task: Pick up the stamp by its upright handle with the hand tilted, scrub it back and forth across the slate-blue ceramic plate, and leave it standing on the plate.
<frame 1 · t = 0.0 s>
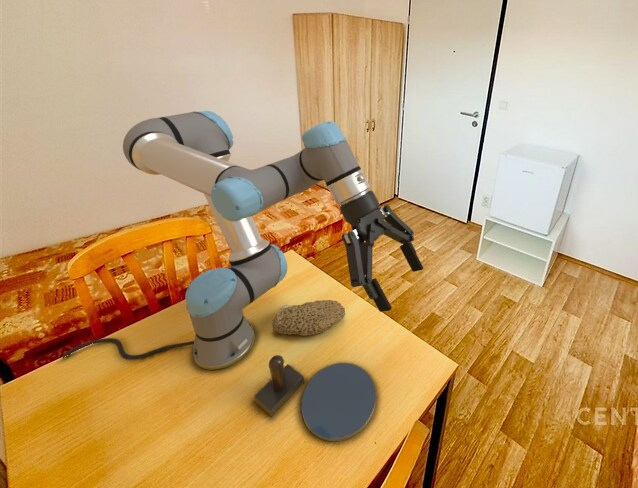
hand: (403, 288, 65), 36 cm above the table, tool tilted 35°, fingers open, 13 cm apart
stamp: (280, 391, 79), on the table
plate: (339, 399, 79), on the table
sponge: (311, 324, 99), on the table
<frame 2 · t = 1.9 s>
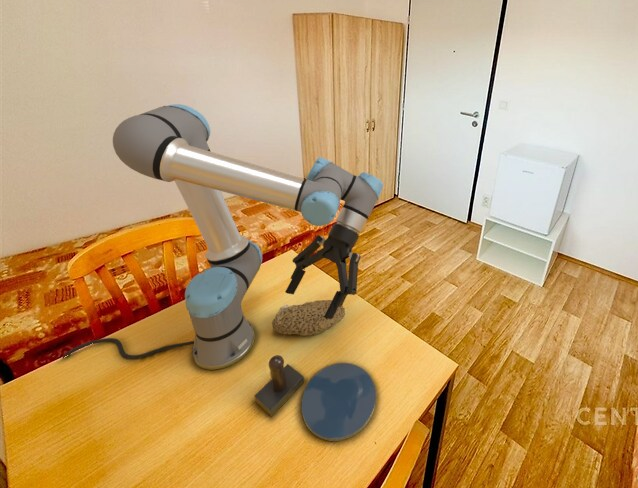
hand: (307, 305, 79), 21 cm above the table, tool tilted 45°, fingers open, 13 cm apart
nothing on the table moved.
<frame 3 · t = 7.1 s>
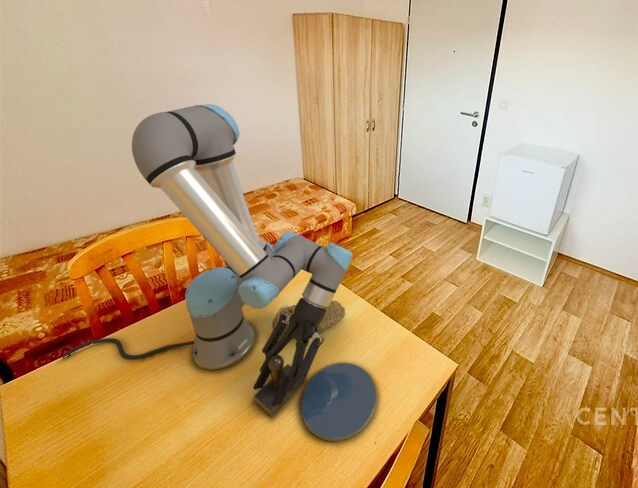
hand: (266, 395, 75), 3 cm above the table, tool tilted 45°, fingers closed on stamp, 6 cm apart
stamp: (280, 391, 79), on the table, touching gripper
everything else where it was.
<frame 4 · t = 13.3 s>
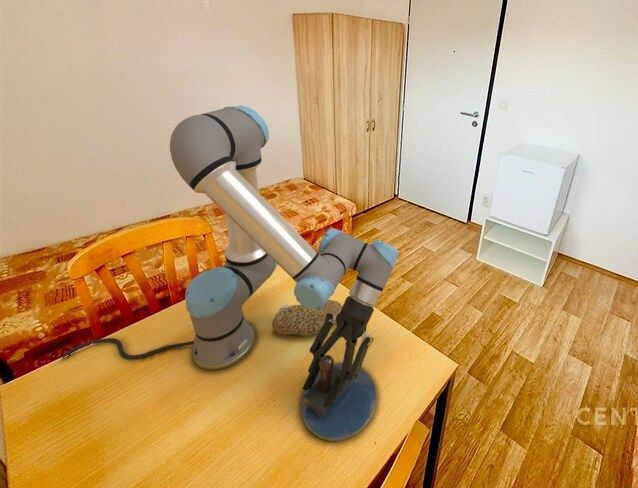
hand: (316, 396, 73), 6 cm above the table, tool tilted 45°, fingers closed on stamp, 6 cm apart
stamp: (328, 392, 78), point 3 cm above the table, touching gripper
everything else where it was.
when the fingers open (4 cm above the table, at t = 19.8 s): stamp stays where it is, resting on plate.
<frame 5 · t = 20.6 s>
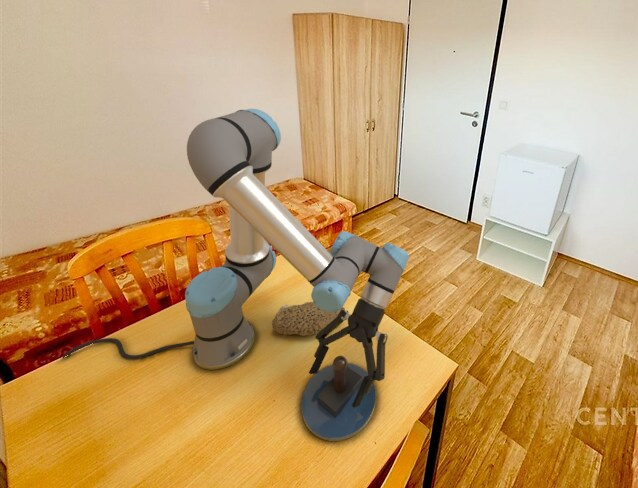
hand: (333, 388, 75), 6 cm above the table, tool tilted 45°, fingers open, 13 cm apart
stamp: (340, 392, 79), point 1 cm above the table, touching plate
everything else where it was.
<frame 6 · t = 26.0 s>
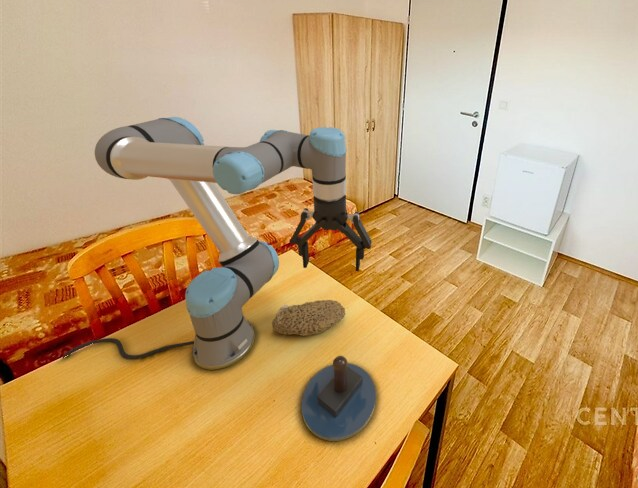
hand: (332, 266, 83), 27 cm above the table, tool pointing down, fingers open, 13 cm apart
nothing on the table moved.
at the end: stamp inside the target area on the plate (1.0 cm from its centre), point 1.2 cm above the plate's base; stamp tilted 0°; stamp moved 15.1 cm from its start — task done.
